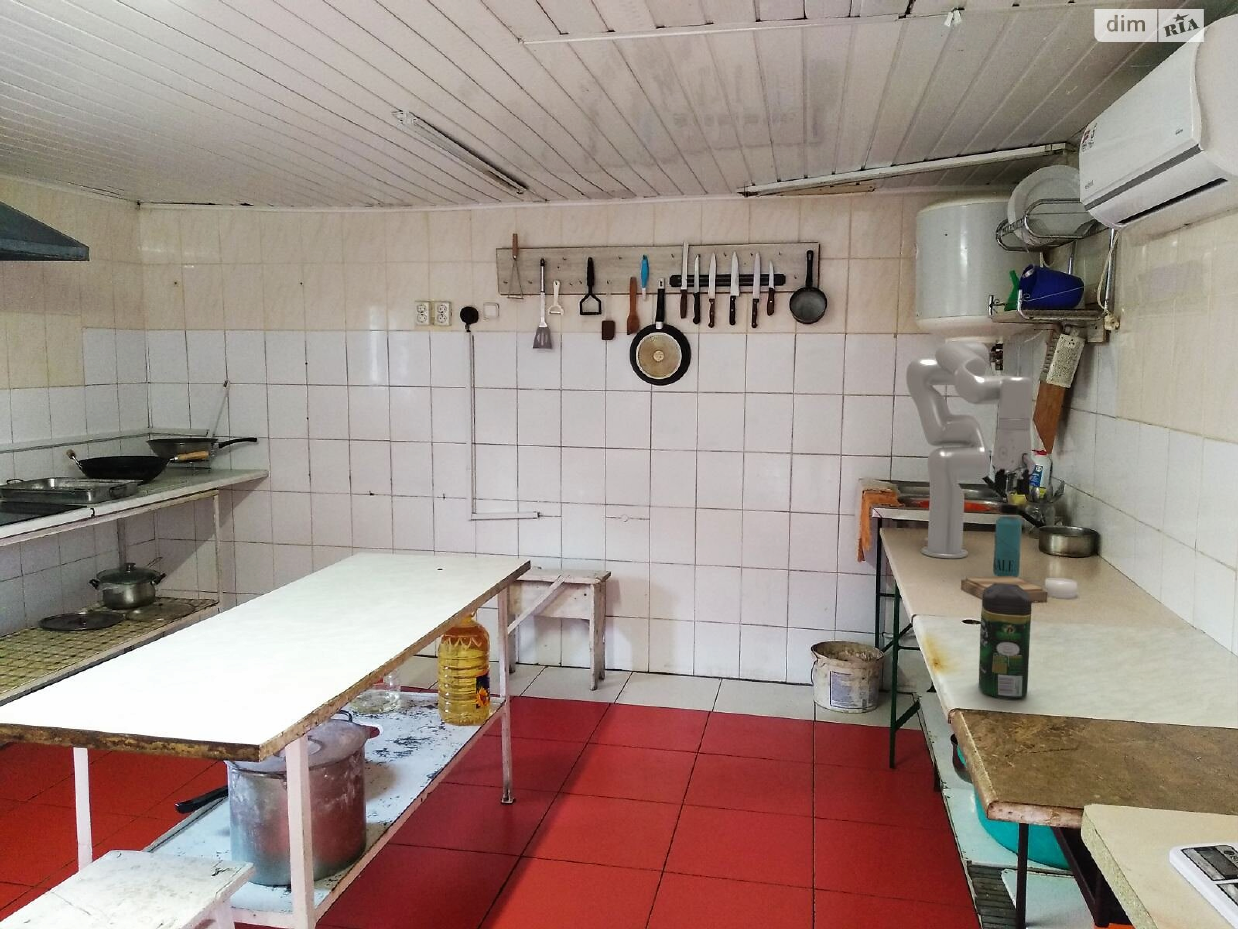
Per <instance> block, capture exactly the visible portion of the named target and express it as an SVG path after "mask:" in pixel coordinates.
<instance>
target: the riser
mask: <svg viewBox="0 0 1238 929" xmlns="http://www.w3.org/2000/svg"><path fill="white" fill-rule="evenodd" d="M994 583H1002V584H1014V585H1018V586H1019V587H1020V588H1022V589H1024V590H1025V591H1026V592H1028V594H1029V595H1030V597H1031V600H1032V603H1036V602H1035V601H1040V602H1039V603H1042V602H1041V601H1047V602H1048V596H1047V594H1048V592H1047V591H1045V589H1043V587H1042V588H1041V587H1039V586H1037V585H1035V584H1032V583H1030V582H1027V581H1026V580H1022V579H1020V578H1018V577H1013V576H981V577H979V576H978V577H966V578H965V579H961V583H960V590H961V591H964V592H967V594H968V593H969V594H971V595H973V596H975V597H977V598H979V599H981V600H982V597H983V591H984V589H985V588H987V587H989V586H991V585H993V584H994Z"/></svg>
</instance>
